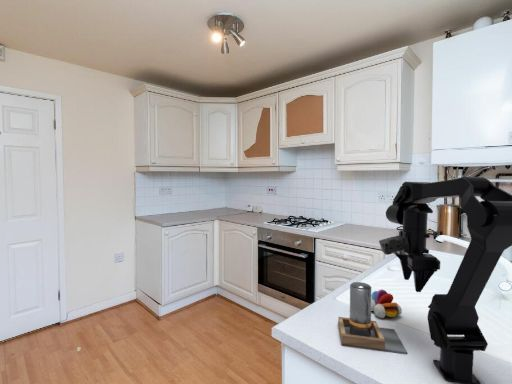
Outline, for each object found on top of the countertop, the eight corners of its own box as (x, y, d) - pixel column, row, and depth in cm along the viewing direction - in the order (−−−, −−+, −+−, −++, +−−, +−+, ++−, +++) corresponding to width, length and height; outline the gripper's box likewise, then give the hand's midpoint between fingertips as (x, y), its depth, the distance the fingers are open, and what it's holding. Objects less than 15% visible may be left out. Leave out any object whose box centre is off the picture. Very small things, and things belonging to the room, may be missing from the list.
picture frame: (407, 354, 67) (407, 343, 67) (341, 345, 70) (341, 335, 70) (394, 330, 77) (394, 321, 77) (337, 323, 80) (338, 315, 80)
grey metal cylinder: (374, 341, 71) (375, 289, 70) (352, 340, 71) (353, 288, 71) (366, 330, 76) (367, 281, 76) (346, 330, 76) (347, 281, 76)
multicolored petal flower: (382, 322, 82) (383, 298, 82) (361, 308, 91) (362, 286, 91) (405, 319, 84) (406, 295, 84) (383, 305, 94) (384, 284, 93)
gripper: (375, 222, 86) (373, 272, 87) (391, 232, 68) (389, 295, 69) (414, 224, 84) (412, 275, 85) (442, 235, 66) (439, 300, 66)
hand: (411, 285), depth 76 cm, fingers open, 9 cm apart
